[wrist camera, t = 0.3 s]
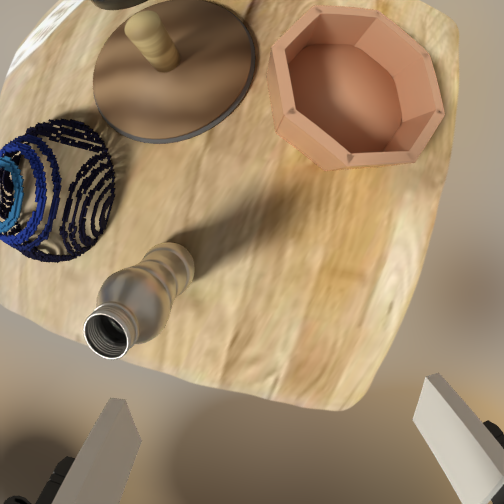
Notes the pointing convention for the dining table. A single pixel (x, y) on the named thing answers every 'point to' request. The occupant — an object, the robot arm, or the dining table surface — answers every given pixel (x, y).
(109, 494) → the robot arm
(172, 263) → the plastic bottle
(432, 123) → the bowl
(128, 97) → the lid
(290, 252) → the dining table surface
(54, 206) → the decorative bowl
